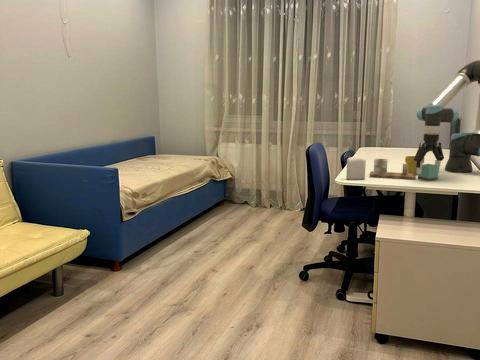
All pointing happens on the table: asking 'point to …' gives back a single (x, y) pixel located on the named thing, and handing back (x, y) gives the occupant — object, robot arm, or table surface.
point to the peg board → (381, 172)
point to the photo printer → (356, 168)
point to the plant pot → (411, 164)
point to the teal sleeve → (429, 172)
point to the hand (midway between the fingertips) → (427, 173)
